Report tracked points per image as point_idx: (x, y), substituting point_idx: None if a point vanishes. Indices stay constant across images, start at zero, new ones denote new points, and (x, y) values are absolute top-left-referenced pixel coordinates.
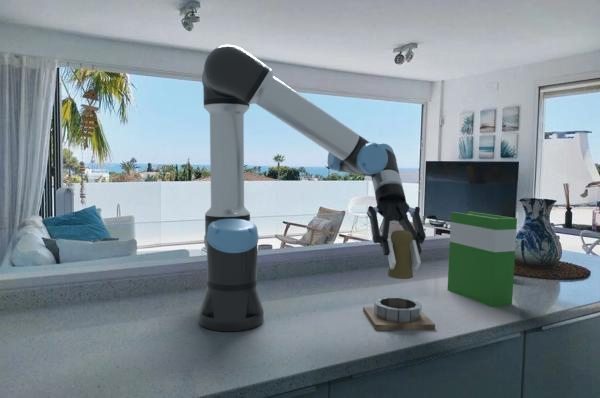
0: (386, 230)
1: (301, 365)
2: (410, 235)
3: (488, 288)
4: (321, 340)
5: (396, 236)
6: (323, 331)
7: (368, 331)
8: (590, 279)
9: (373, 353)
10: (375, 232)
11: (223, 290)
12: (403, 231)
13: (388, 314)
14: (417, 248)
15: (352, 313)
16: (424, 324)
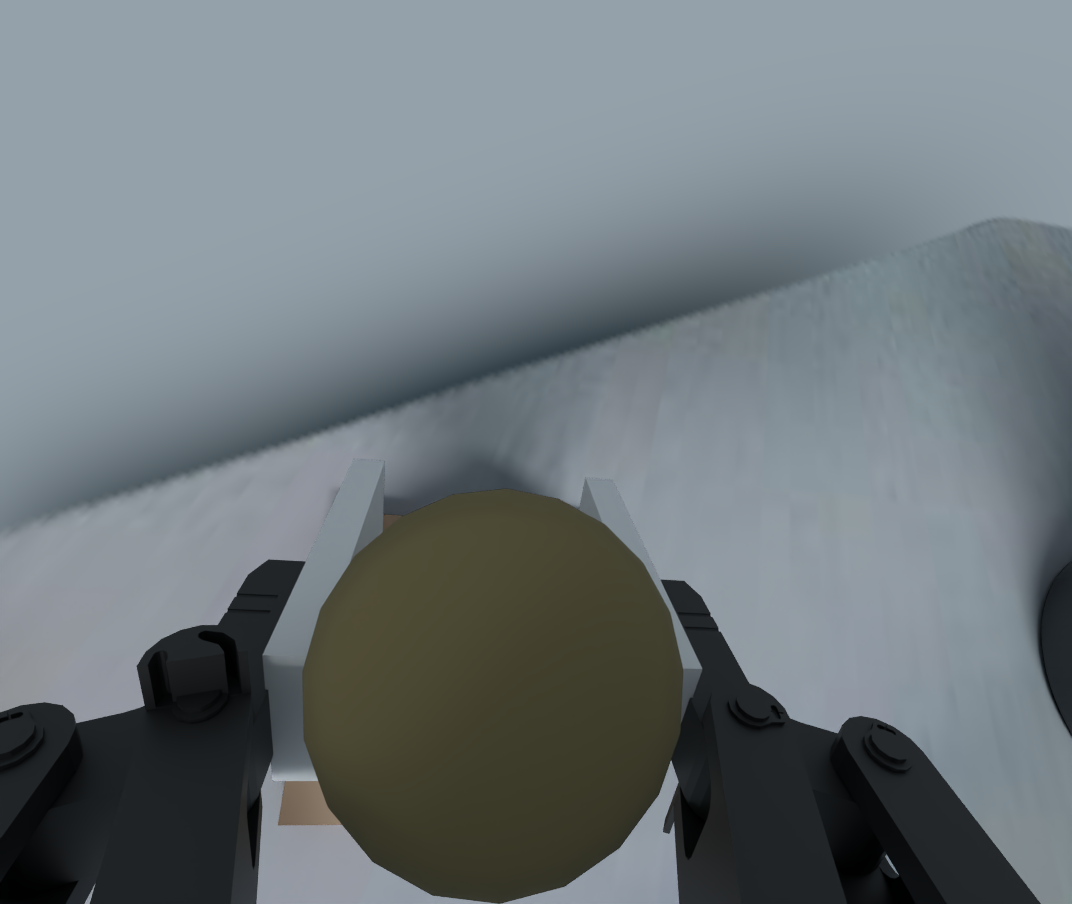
0: (783, 869)
1: (855, 294)
2: (399, 522)
3: None
4: (811, 449)
5: (629, 551)
6: (806, 534)
7: (634, 520)
8: None
9: (655, 334)
10: (957, 815)
11: None
12: (509, 587)
13: None
14: (286, 597)
15: (667, 781)
16: (383, 514)
